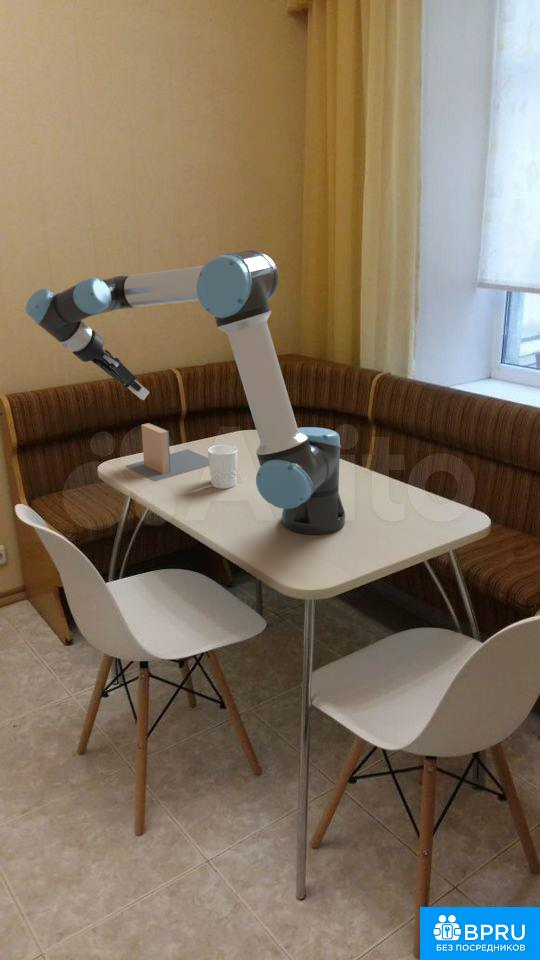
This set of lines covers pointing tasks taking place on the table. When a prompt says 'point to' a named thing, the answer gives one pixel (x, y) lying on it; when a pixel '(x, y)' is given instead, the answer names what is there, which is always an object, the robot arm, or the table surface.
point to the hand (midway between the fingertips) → (145, 395)
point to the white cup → (223, 466)
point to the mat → (173, 465)
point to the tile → (156, 448)
